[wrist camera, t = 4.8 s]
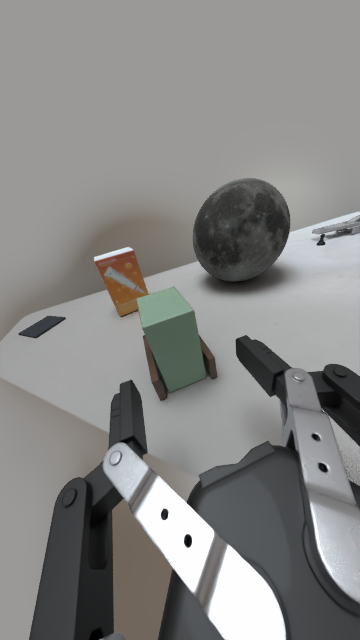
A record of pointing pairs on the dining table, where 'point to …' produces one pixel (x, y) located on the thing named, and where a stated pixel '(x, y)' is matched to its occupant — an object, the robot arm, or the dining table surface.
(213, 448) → the dining table surface
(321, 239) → the chess pawn
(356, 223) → the zipper pull
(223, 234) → the decorative sphere
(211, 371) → the u-shaped bracket
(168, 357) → the green rectangular block
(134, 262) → the small box
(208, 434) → the dining table surface
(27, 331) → the rubber mat
